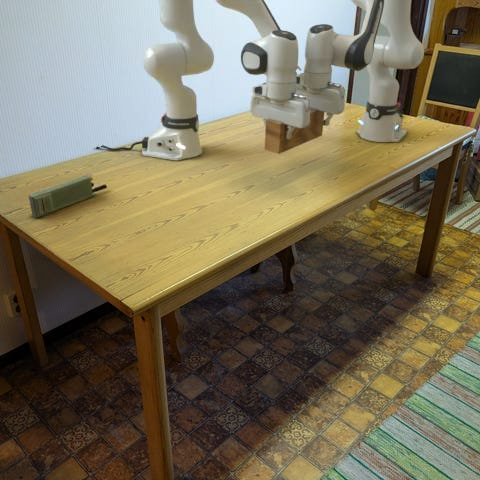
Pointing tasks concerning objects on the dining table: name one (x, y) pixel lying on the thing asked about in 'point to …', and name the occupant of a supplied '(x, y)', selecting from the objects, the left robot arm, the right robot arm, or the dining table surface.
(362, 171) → the dining table surface
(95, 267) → the dining table surface
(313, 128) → the bar
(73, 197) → the handheld radio
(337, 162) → the dining table surface
